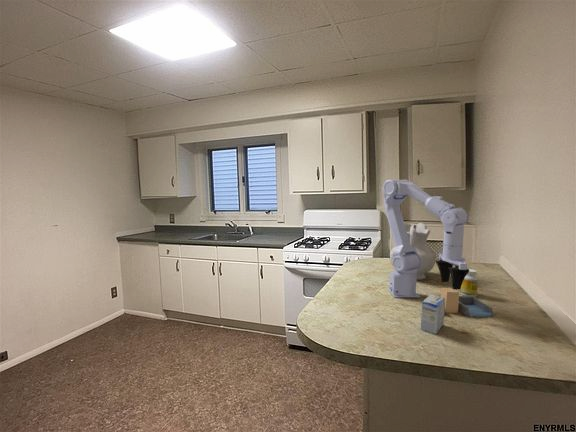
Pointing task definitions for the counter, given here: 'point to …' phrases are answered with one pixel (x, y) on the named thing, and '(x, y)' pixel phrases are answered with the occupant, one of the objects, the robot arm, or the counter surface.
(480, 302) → the blue shallow tray
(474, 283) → the supplement bottle
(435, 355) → the counter surface
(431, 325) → the medicine box
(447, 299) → the tan rectangular block
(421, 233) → the ceramic pitcher
